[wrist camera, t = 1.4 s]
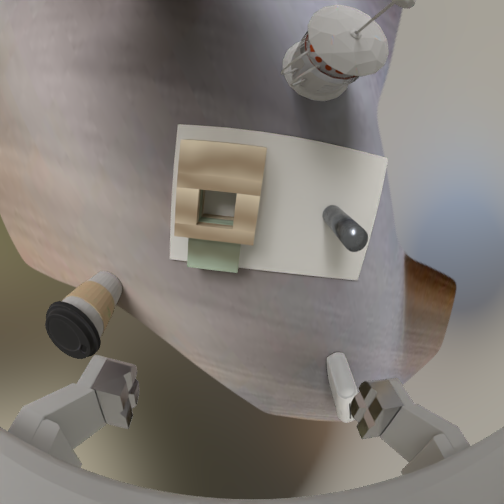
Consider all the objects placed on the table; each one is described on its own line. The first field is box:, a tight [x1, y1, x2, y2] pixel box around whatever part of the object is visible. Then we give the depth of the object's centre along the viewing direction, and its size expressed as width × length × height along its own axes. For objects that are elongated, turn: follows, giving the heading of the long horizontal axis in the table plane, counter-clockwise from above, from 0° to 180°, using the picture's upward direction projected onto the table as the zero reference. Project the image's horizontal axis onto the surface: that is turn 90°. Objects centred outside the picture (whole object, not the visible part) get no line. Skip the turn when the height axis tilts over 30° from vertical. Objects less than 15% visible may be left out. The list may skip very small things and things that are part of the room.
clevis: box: [174, 139, 267, 273], centre depth 36 cm, size 17×10×6 cm, turn 172°
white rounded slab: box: [327, 352, 358, 423], centre depth 46 cm, size 10×4×12 cm, turn 15°
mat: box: [170, 124, 388, 280], centre depth 39 cm, size 20×30×1 cm, turn 83°
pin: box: [322, 205, 368, 252], centre depth 34 cm, size 3×3×10 cm
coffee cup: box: [45, 271, 122, 359], centre depth 37 cm, size 9×9×15 cm
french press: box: [281, 0, 416, 101], centre depth 20 cm, size 10×12×25 cm
